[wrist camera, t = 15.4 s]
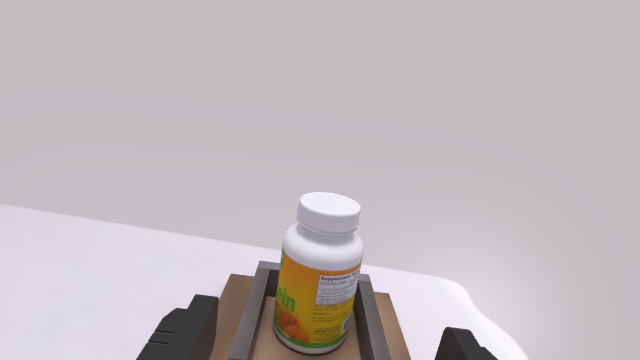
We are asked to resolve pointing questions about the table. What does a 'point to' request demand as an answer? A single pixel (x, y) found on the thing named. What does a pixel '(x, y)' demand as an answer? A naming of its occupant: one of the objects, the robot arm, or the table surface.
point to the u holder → (273, 355)
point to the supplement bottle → (318, 274)
